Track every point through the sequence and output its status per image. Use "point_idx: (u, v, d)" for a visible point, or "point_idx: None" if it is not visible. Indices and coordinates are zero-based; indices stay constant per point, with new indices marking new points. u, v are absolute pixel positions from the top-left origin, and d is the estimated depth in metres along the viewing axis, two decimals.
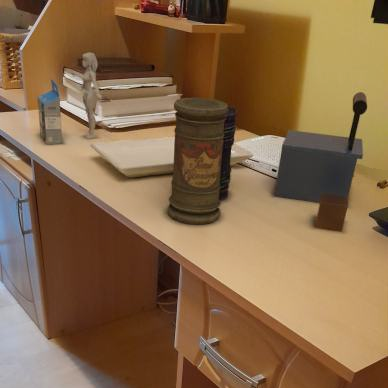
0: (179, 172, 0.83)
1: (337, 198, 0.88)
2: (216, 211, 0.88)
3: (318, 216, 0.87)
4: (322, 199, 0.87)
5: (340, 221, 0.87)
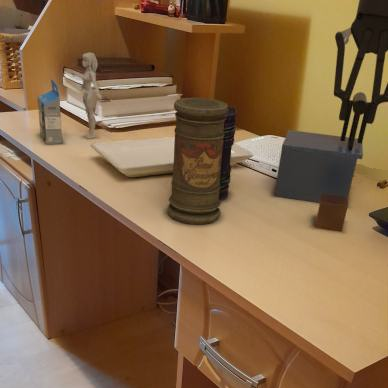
0: (179, 172, 0.83)
1: (337, 198, 0.88)
2: (216, 211, 0.88)
3: (318, 216, 0.87)
4: (322, 199, 0.87)
5: (340, 221, 0.87)
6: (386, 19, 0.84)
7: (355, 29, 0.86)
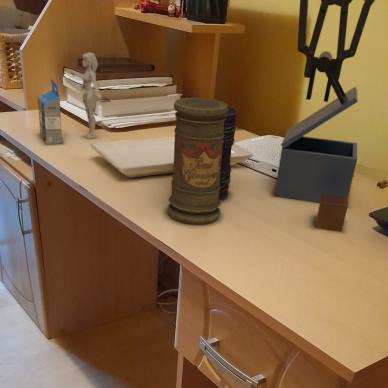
0: (179, 172, 0.83)
1: (337, 198, 0.88)
2: (216, 211, 0.88)
3: (318, 216, 0.87)
4: (322, 199, 0.87)
5: (340, 221, 0.87)
6: None
7: None
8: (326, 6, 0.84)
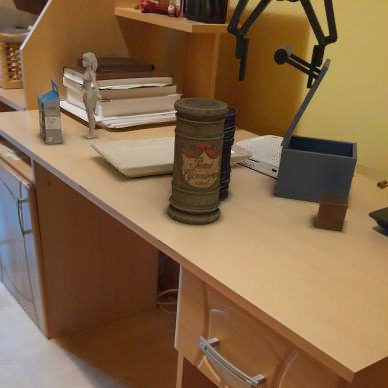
0: (179, 172, 0.83)
1: (337, 198, 0.88)
2: (216, 211, 0.88)
3: (318, 216, 0.87)
4: (322, 199, 0.87)
5: (340, 221, 0.87)
6: None
7: None
8: None
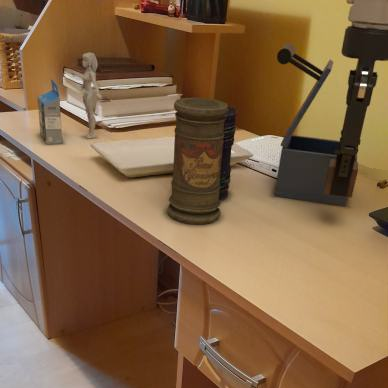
0: (179, 172, 0.83)
1: None
2: (216, 211, 0.88)
3: (327, 182, 0.84)
4: (331, 164, 0.83)
5: (351, 187, 0.83)
6: None
7: (371, 77, 0.73)
8: None
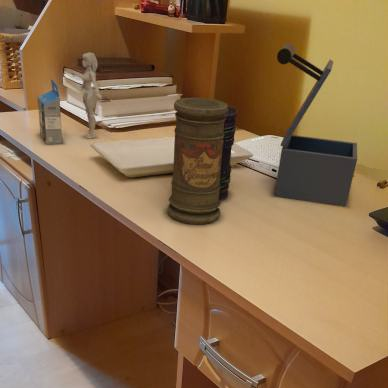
0: (179, 172, 0.83)
1: None
2: (216, 211, 0.88)
3: None
4: None
5: None
6: None
7: None
8: None
